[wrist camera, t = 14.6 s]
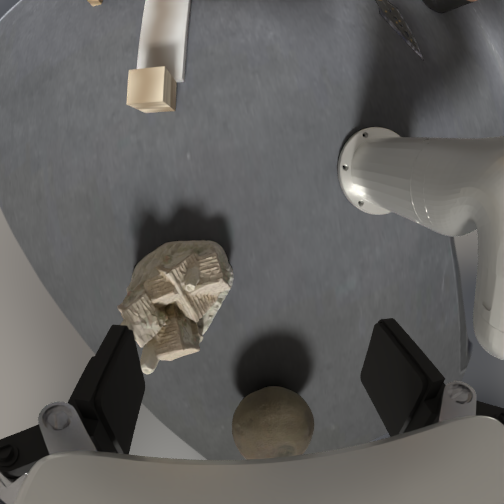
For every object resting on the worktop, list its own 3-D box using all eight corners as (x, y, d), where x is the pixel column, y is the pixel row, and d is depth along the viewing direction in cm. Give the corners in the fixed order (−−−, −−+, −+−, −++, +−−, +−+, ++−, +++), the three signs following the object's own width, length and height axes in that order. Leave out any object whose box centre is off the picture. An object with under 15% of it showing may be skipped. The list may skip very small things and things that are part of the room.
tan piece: (195, -32, 27) (190, -61, 19) (183, 110, 34) (172, 100, 27) (155, -28, 26) (143, -55, 19) (138, 113, 34) (118, 105, 26)
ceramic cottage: (153, 346, 45) (137, 411, 31) (119, 252, 40) (80, 294, 26) (246, 328, 46) (261, 391, 32) (223, 228, 42) (231, 261, 27)
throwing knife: (357, -36, 27) (358, -38, 27) (430, 57, 33) (432, 57, 33) (338, -31, 28) (340, -33, 27) (415, 66, 34) (417, 65, 33)
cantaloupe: (319, 379, 51) (342, 441, 36) (278, 423, 54) (290, 482, 40) (252, 356, 47) (262, 426, 33) (215, 406, 51) (216, 470, 37)
